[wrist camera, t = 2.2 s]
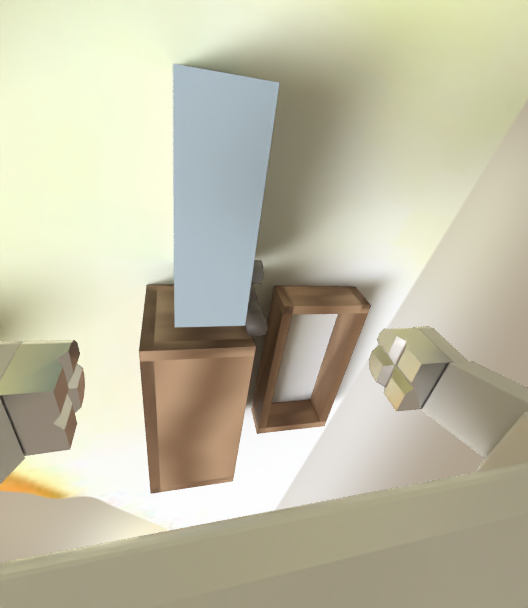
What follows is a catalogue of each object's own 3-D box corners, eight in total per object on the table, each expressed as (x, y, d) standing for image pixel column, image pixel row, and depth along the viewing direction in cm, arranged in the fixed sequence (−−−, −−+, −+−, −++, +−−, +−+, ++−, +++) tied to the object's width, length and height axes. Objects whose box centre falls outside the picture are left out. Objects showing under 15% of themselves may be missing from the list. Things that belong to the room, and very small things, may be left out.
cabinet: (359, 273, 29) (408, 325, 23) (314, 404, 39) (341, 465, 33) (145, 268, 24) (137, 332, 18) (154, 418, 34) (150, 493, 28)
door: (260, 81, 20) (303, 86, 13) (239, 263, 26) (261, 325, 20) (172, 65, 18) (173, 63, 12) (173, 261, 25) (174, 327, 18)
